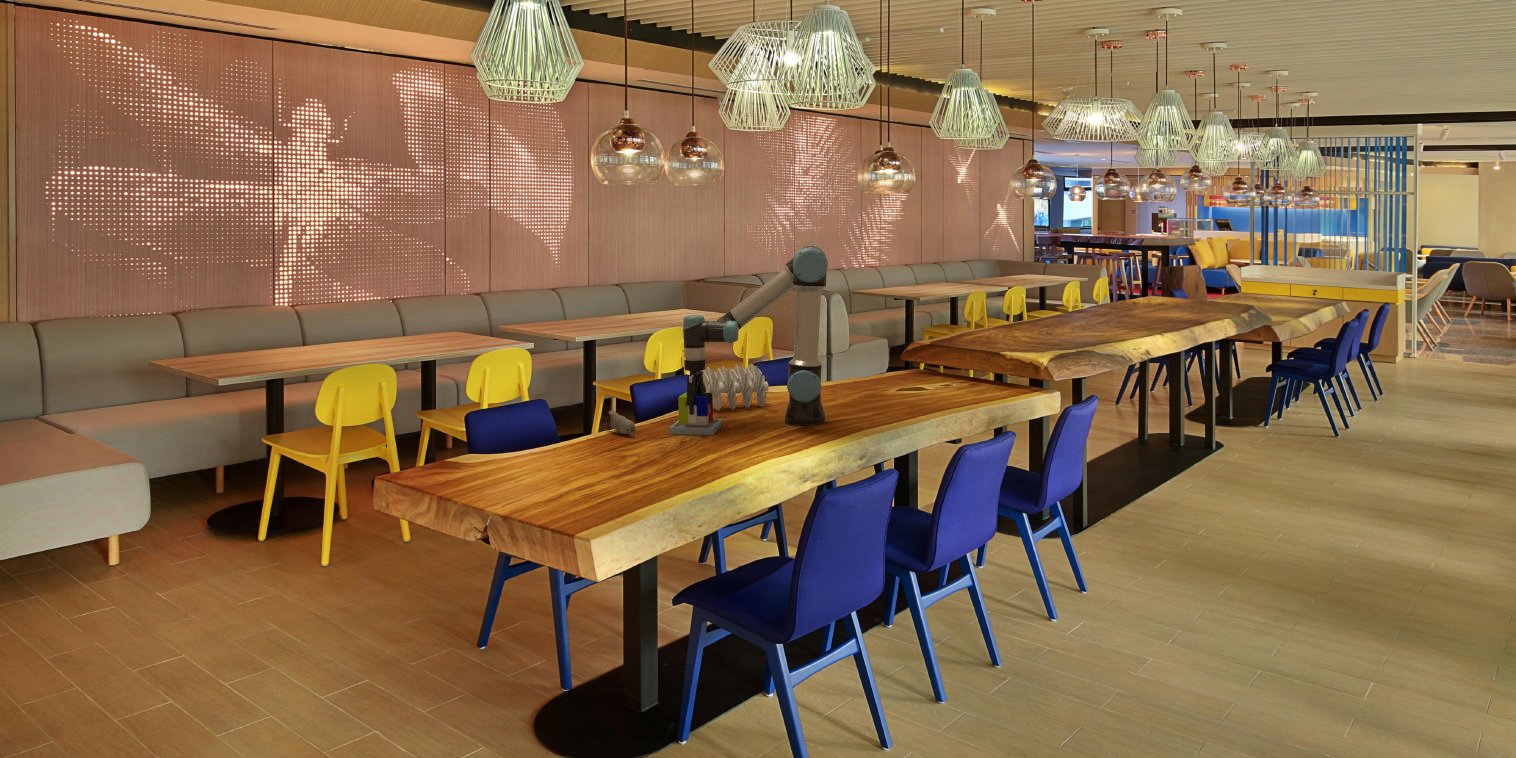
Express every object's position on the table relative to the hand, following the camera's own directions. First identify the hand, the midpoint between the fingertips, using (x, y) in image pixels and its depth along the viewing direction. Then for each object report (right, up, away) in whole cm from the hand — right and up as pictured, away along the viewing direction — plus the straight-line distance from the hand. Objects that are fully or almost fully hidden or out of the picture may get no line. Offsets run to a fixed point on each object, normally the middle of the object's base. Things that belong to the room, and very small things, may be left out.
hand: (696, 420), depth 370 cm
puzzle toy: (0, -1, 0) cm, 1 cm away
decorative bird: (-26, -5, -4) cm, 27 cm away
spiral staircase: (+14, +3, +38) cm, 41 cm away
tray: (0, -3, +1) cm, 4 cm away
